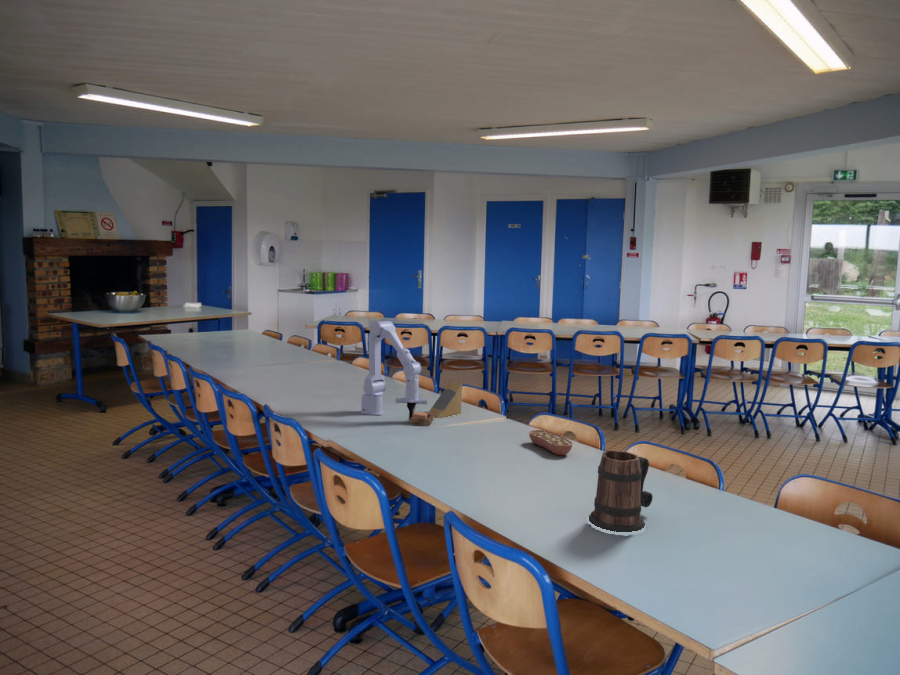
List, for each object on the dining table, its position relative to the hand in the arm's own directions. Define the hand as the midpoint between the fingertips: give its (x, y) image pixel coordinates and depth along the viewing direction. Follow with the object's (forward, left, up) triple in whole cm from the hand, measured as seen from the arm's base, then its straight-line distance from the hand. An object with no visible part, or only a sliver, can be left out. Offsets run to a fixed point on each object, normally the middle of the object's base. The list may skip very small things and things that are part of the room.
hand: (411, 419), depth 288 cm
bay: (+5, 0, -1) cm, 5 cm away
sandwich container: (+12, +16, -2) cm, 20 cm away
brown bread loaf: (+61, -29, -2) cm, 67 cm away
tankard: (+79, -96, -2) cm, 124 cm away
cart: (+4, 0, -1) cm, 4 cm away
